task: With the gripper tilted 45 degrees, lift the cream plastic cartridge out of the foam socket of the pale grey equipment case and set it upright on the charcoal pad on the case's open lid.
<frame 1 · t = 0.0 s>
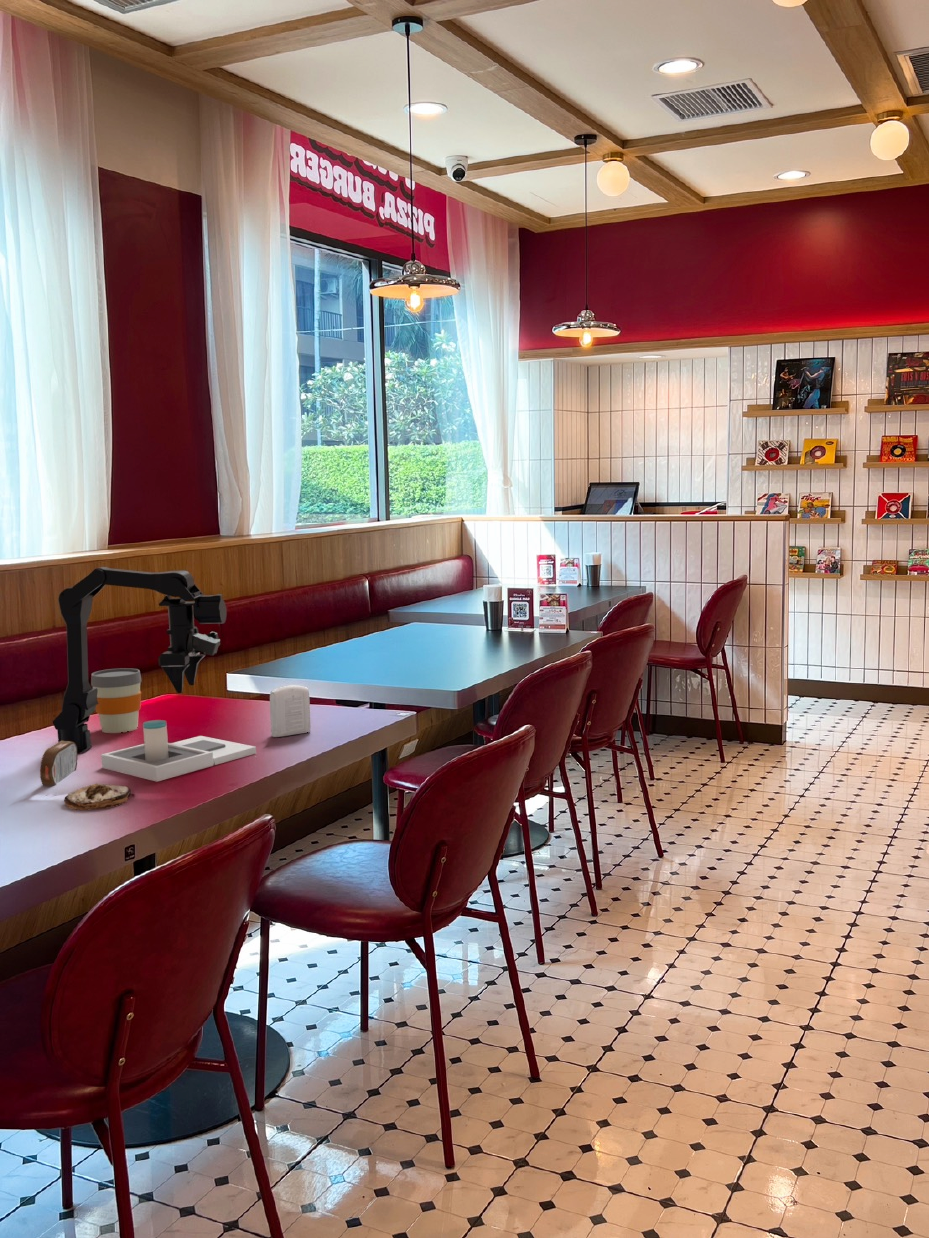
hand: (185, 689, 263), 15 cm above the table, tool pointing down, fingers open, 9 cm apart
reusable coffee cup: (119, 729, 288), on the table
cartridge: (157, 766, 246), point 1 cm above the table, touching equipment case
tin: (61, 783, 240), on the table
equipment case: (157, 770, 246), on the table
brown topped flatbread: (98, 804, 225), on the table
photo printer: (291, 734, 277), on the table
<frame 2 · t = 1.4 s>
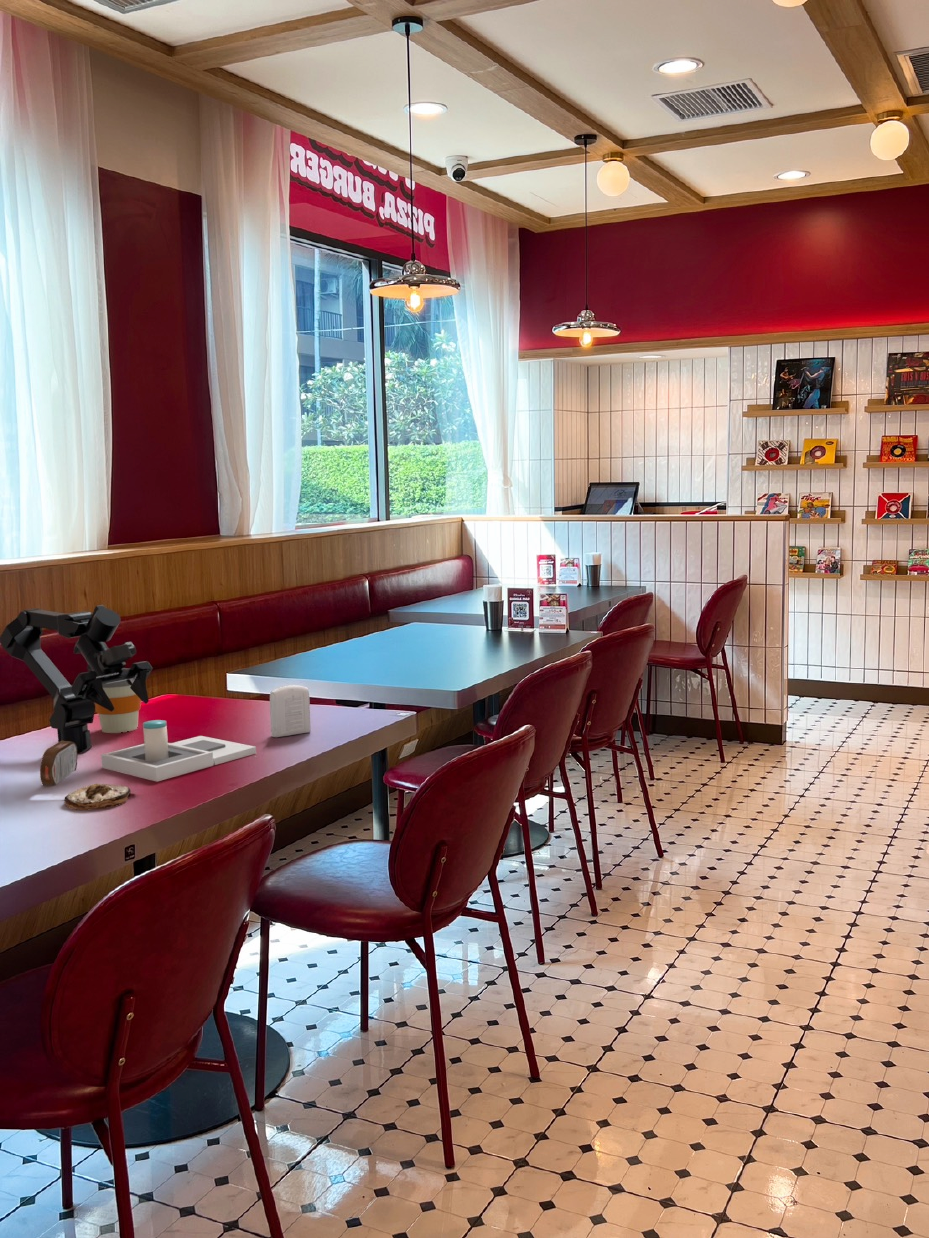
hand: (130, 706, 251), 13 cm above the table, tool tilted 45°, fingers open, 9 cm apart
nothing on the table moved.
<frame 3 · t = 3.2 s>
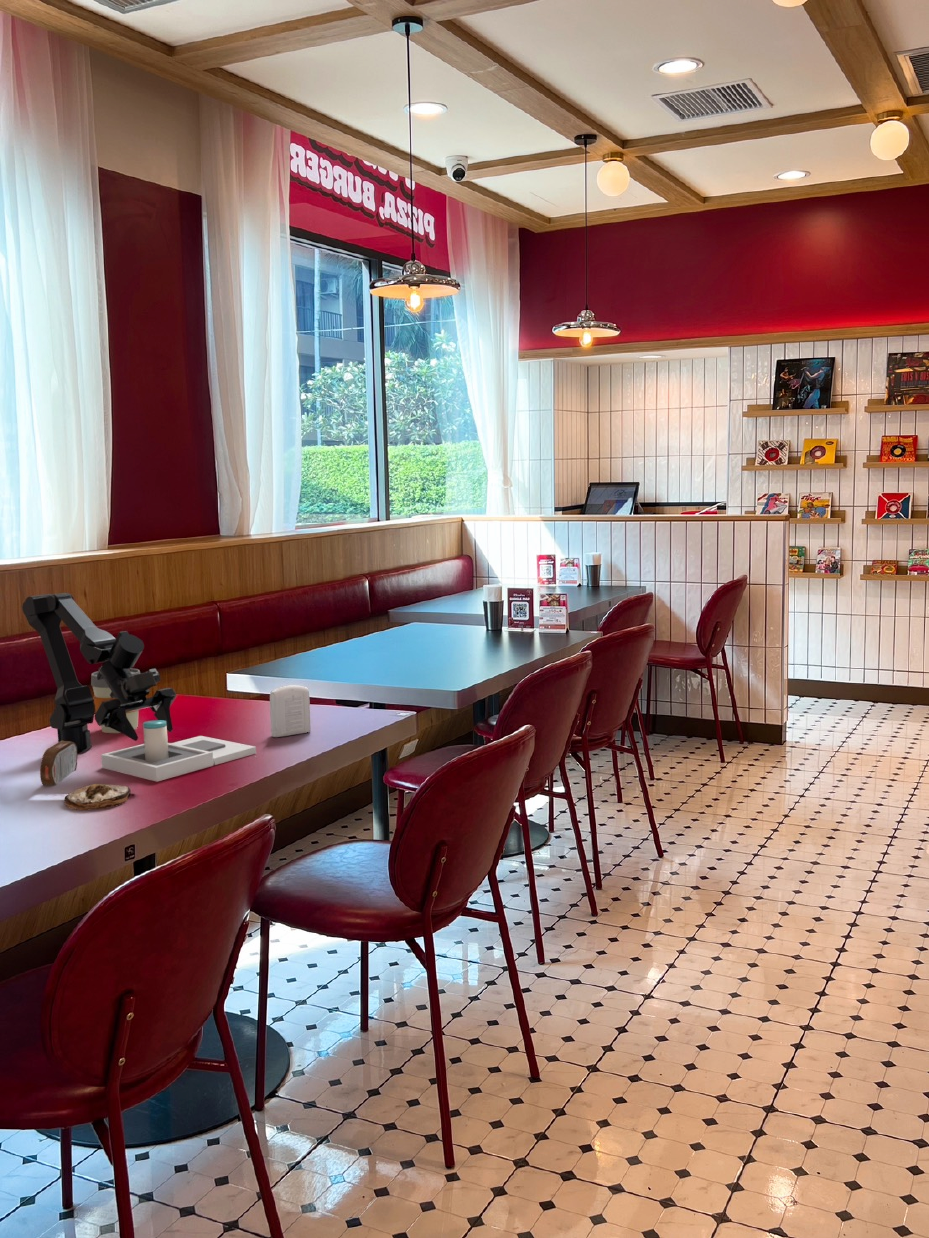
hand: (154, 735, 245), 8 cm above the table, tool tilted 45°, fingers open, 9 cm apart
nothing on the table moved.
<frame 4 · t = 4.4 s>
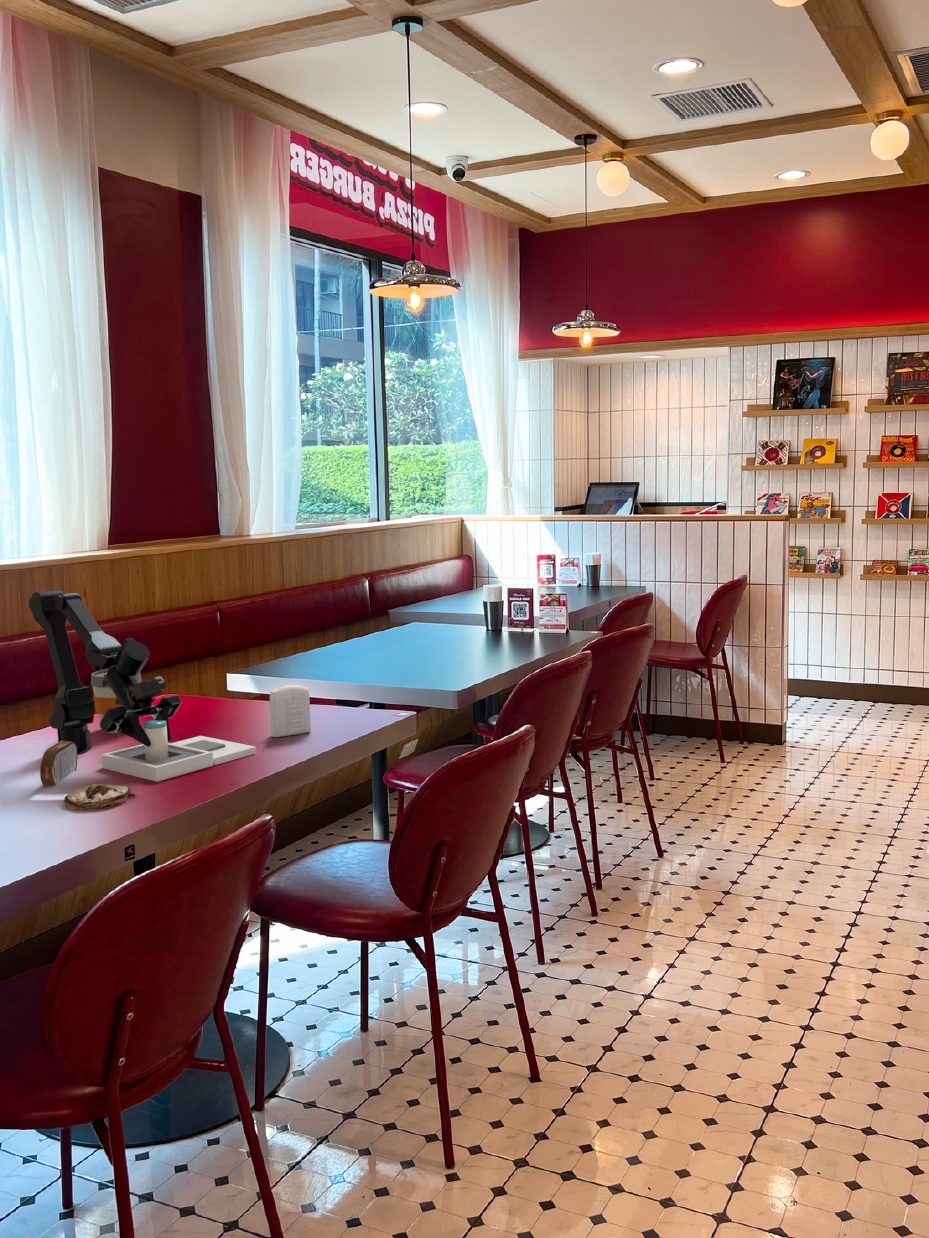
hand: (159, 742, 245), 7 cm above the table, tool tilted 45°, fingers closed on cartridge, 5 cm apart
cartridge: (157, 766, 246), point 1 cm above the table, touching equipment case, gripper
everything else where it was.
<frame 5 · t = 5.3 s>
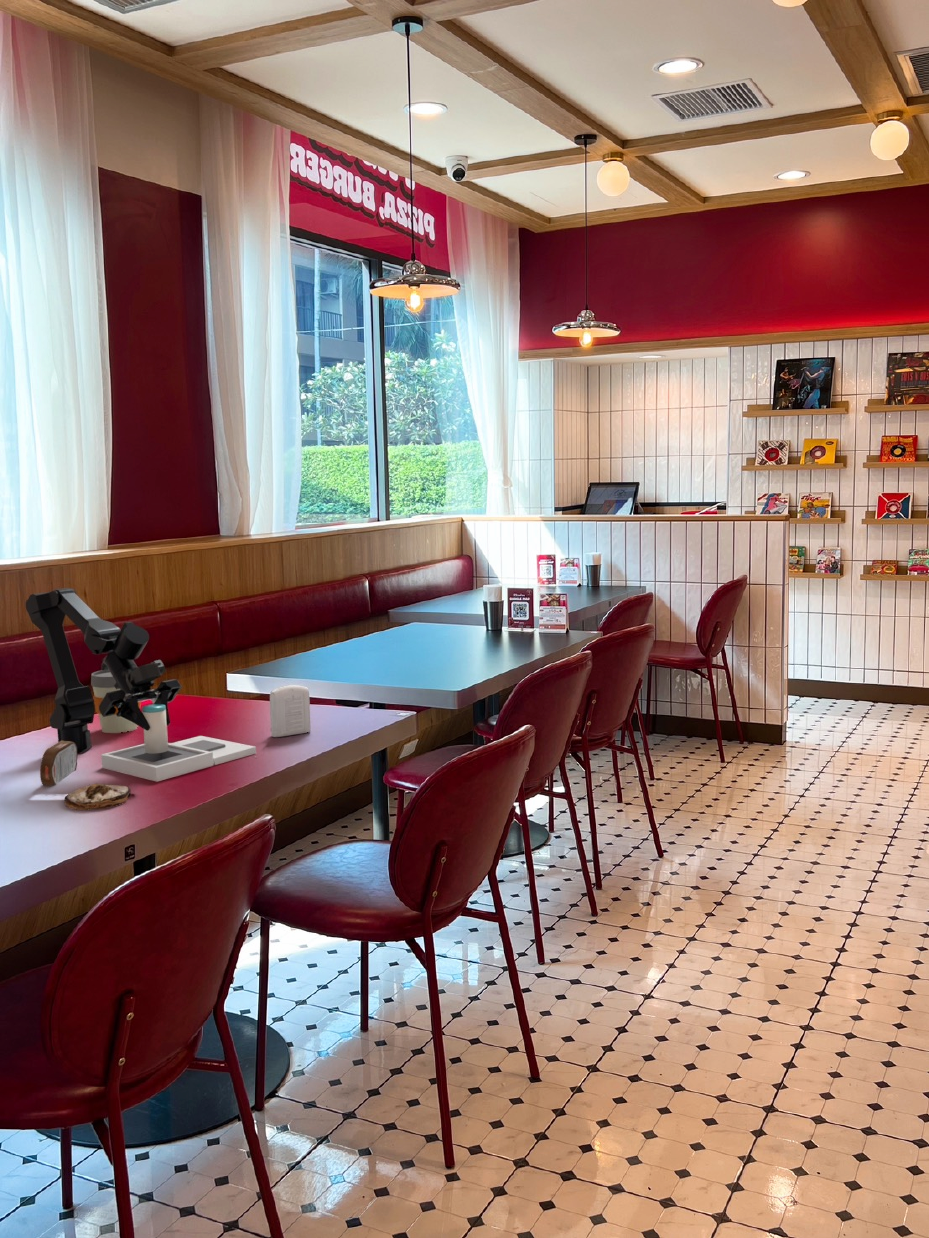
hand: (158, 726, 244), 10 cm above the table, tool tilted 45°, fingers closed on cartridge, 5 cm apart
cartridge: (156, 750, 246), point 5 cm above the table, touching gripper
everything else where it was.
when the fingers open (10 cm above the table, at t = 7.7 s): cartridge drops 1 cm, resting on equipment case.
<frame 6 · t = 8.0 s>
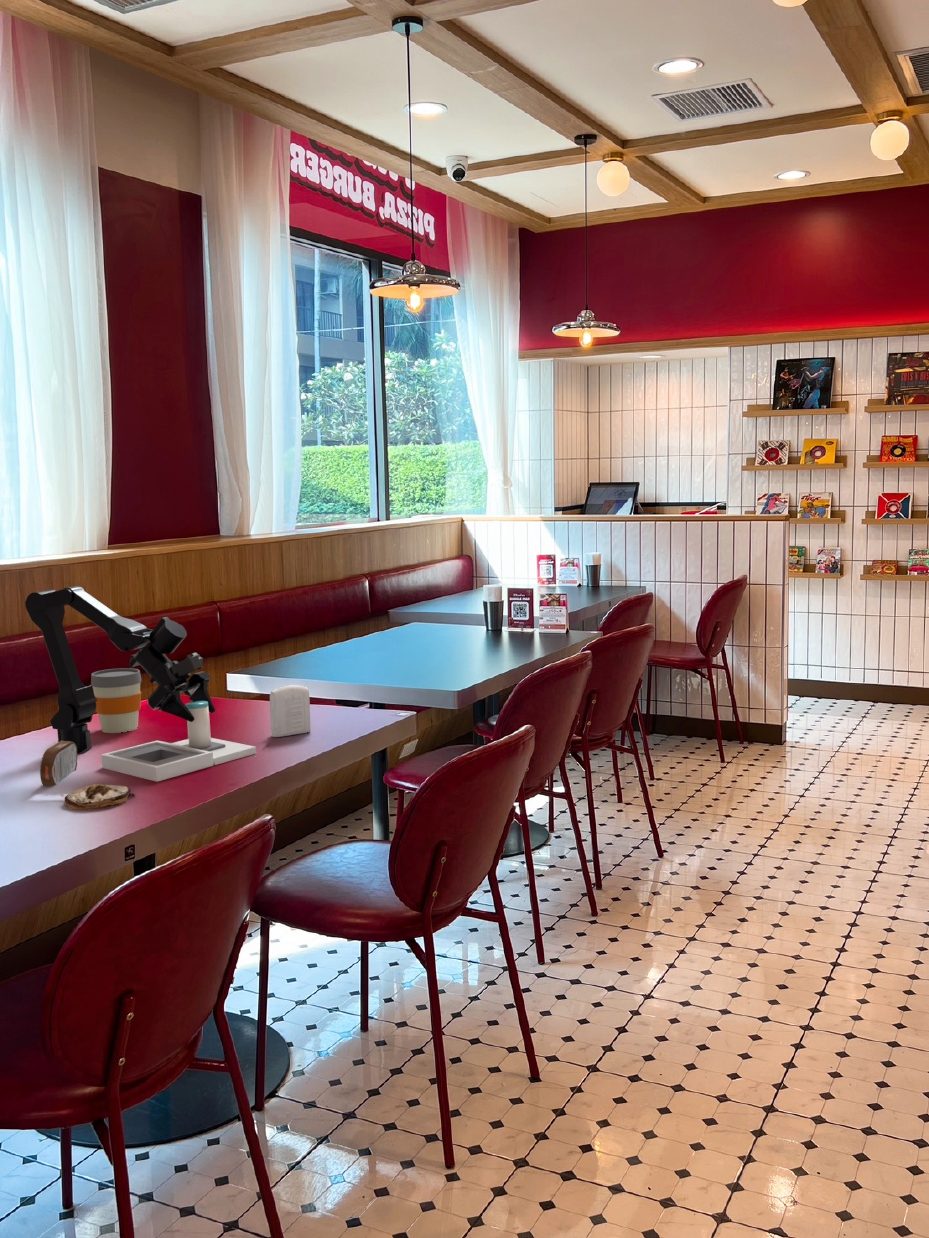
hand: (203, 716, 254), 10 cm above the table, tool tilted 45°, fingers open, 9 cm apart
cartridge: (200, 745, 255), point 3 cm above the table, touching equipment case
everything else where it was.
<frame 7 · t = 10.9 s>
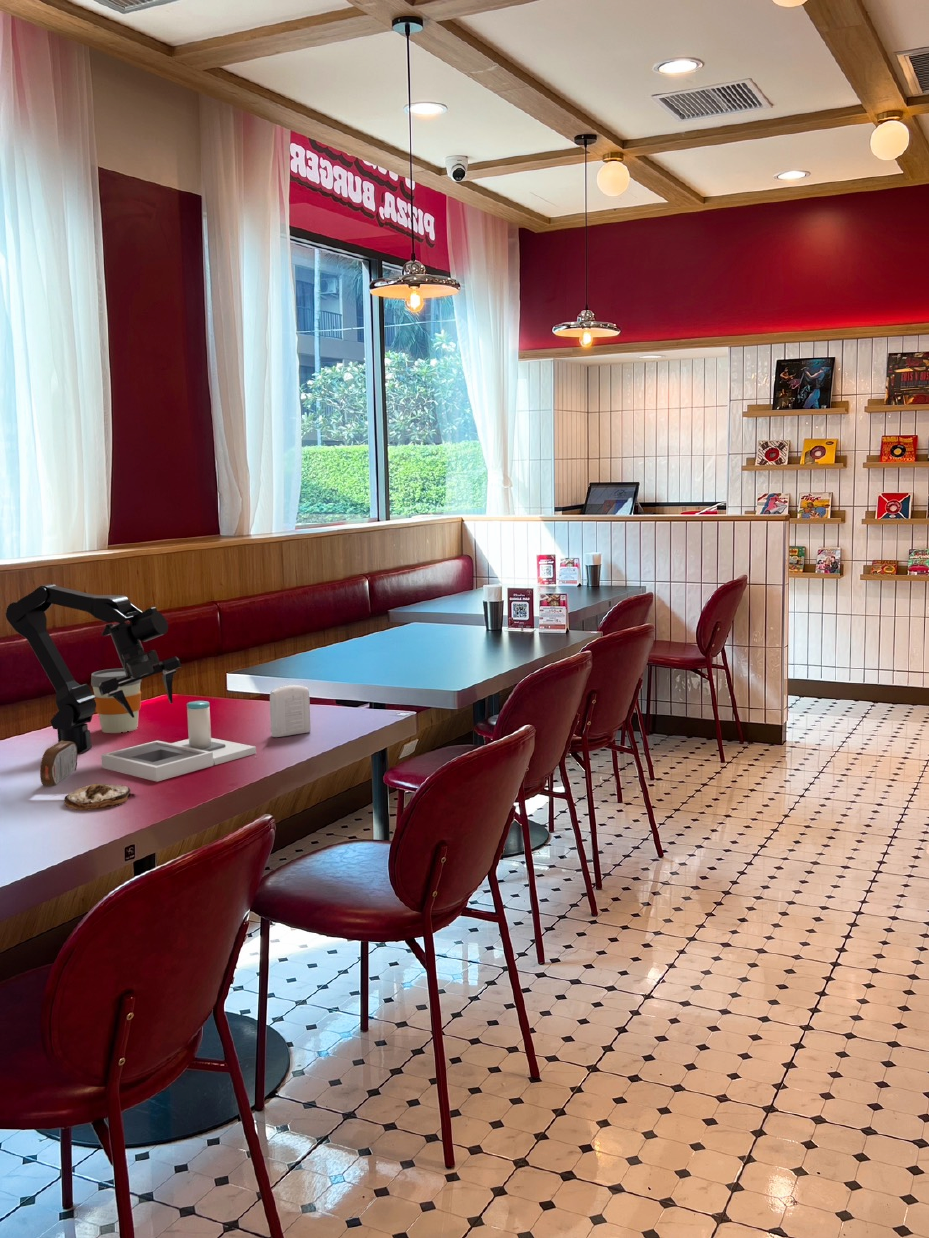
hand: (152, 710, 259), 11 cm above the table, tool tilted 20°, fingers open, 9 cm apart
nothing on the table moved.
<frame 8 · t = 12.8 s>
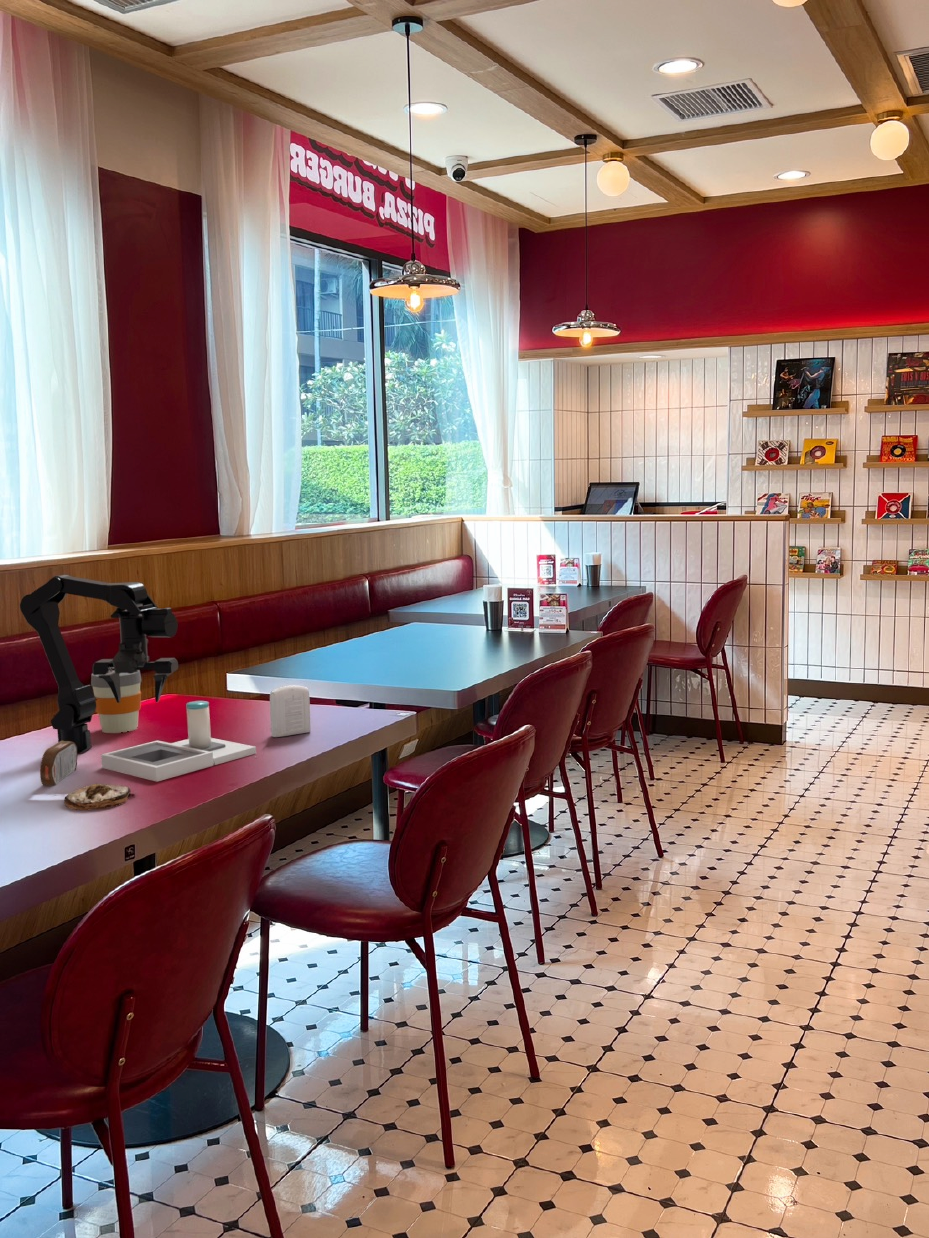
hand: (138, 702, 260), 12 cm above the table, tool pointing down, fingers open, 9 cm apart
nothing on the table moved.
at the end: cartridge 0.1 cm from the target spot on the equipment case, point 3.1 cm above the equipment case's base; cartridge tilted 1°; the gripper is holding nothing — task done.
